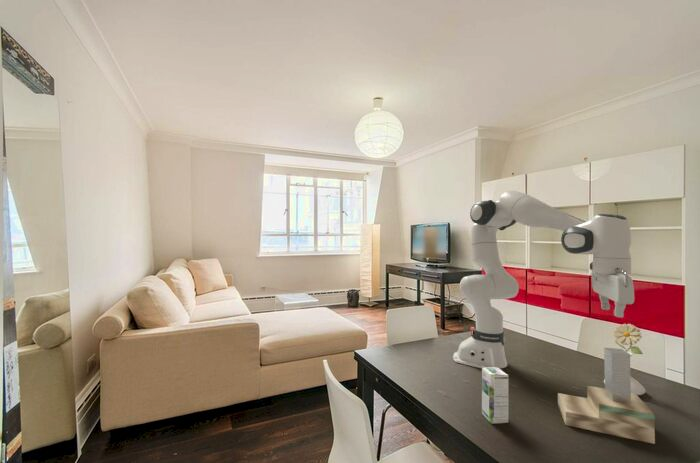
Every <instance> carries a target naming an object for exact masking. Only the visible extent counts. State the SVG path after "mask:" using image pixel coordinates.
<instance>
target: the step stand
mask: <svg viewBox="0 0 700 463" xmlns="http://www.w3.org/2000/svg"><path fill="white" fill-rule="evenodd" d="M586 387H587V388H586V389H587V390H586V394H587V397H582V396H577V395H572V394H568V393H567V394H566V393H561V392H557V406H558V408H559V412H560V414H561V416H562V419H563V421H564V424H565V425H566V426H568V427H572V428H573V427H574V428H579V429H582V430H586V431H587V430H589V431H592V432H596V433H601V434H602V433H603V434H607V435H610V436H611V435H612V436H616V437H621V438H625V439H631V440H634V441H638V442H644V443H647V444H648V443H649V444H653V445H654V444H655V445H656V438H655V437H656V433H655V424H656V423H655V422H656V416H655V413H654V412H653V411H652V409H650V407H648V406H647V404H646V403H645V402H644V401H643V400H642V399H641V398H640V397H639V395H636V394H635V393H631V403H624V402H616V401H612V400H611V399H610V398H609V397H608V396H607V395H606V394H605V387H599V386H593V385H586Z"/></svg>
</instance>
